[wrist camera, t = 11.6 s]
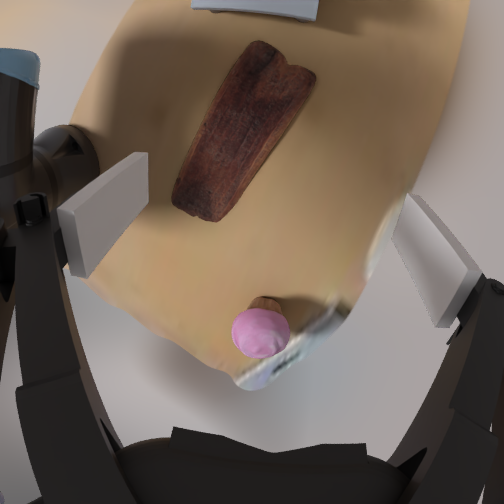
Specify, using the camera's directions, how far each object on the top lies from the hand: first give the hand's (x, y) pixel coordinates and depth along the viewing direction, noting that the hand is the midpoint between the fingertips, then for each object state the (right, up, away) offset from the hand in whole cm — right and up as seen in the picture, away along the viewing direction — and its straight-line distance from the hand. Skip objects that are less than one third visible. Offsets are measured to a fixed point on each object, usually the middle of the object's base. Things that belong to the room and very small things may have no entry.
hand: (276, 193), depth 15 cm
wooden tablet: (-3, +12, +25) cm, 28 cm away
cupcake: (+1, -12, +38) cm, 39 cm away
